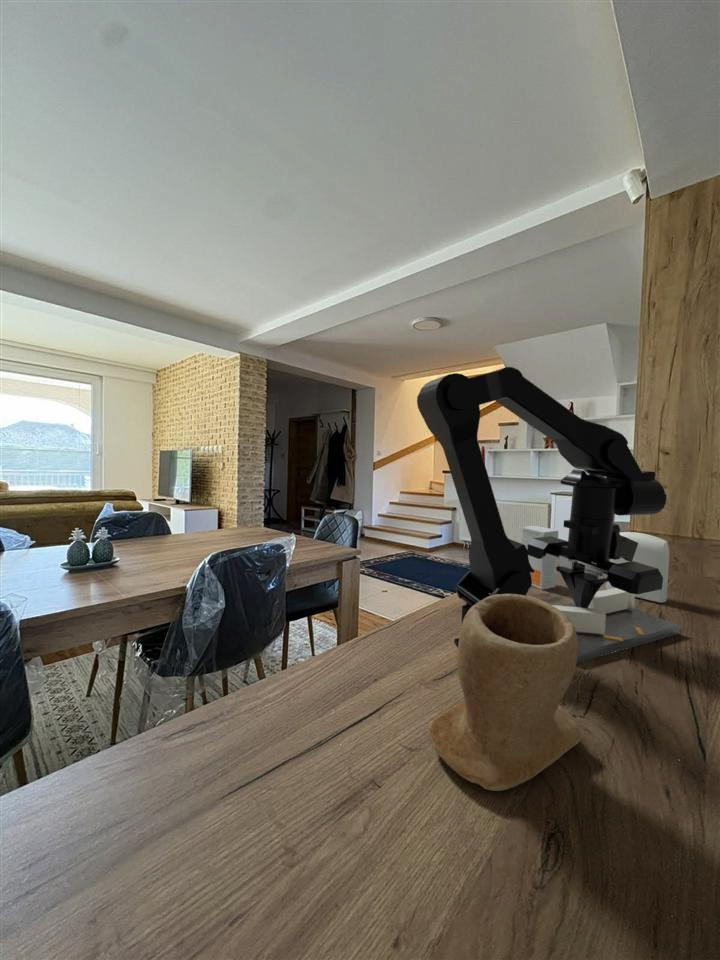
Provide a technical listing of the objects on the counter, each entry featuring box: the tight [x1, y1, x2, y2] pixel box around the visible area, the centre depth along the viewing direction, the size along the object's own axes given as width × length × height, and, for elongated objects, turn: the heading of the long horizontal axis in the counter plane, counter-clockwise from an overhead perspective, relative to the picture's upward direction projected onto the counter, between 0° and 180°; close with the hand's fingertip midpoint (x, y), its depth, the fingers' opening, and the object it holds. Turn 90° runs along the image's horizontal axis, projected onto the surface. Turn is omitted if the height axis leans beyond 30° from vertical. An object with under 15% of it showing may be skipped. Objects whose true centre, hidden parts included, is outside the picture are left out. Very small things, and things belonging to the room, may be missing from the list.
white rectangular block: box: [551, 604, 606, 634], centre depth 63 cm, size 10×2×3 cm, turn 78°
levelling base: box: [558, 602, 680, 665], centre depth 66 cm, size 23×13×3 cm, turn 113°
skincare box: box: [520, 525, 559, 591], centre depth 87 cm, size 6×4×12 cm
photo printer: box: [605, 531, 670, 604], centre depth 82 cm, size 10×4×12 cm, turn 39°
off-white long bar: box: [588, 588, 636, 614], centre depth 70 cm, size 10×2×3 cm, turn 113°
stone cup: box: [427, 594, 584, 792], centre depth 39 cm, size 15×12×15 cm
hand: (581, 615), depth 64 cm, fingers closed
